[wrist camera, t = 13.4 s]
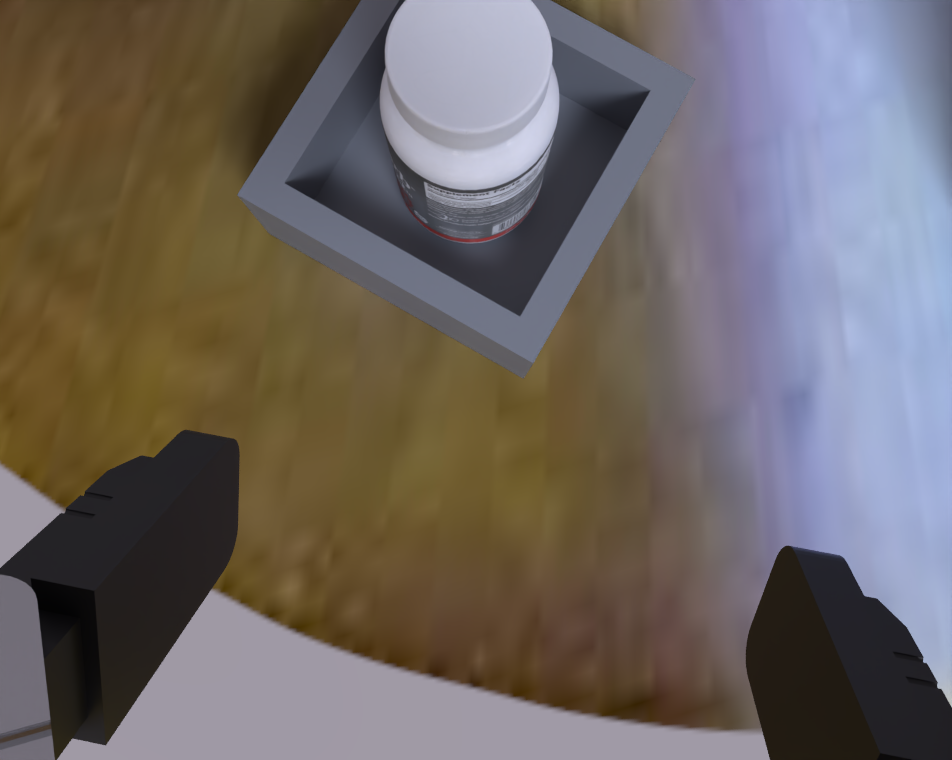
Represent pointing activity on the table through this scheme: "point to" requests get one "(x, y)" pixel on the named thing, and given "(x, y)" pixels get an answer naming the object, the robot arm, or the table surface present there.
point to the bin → (443, 261)
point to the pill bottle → (469, 113)
